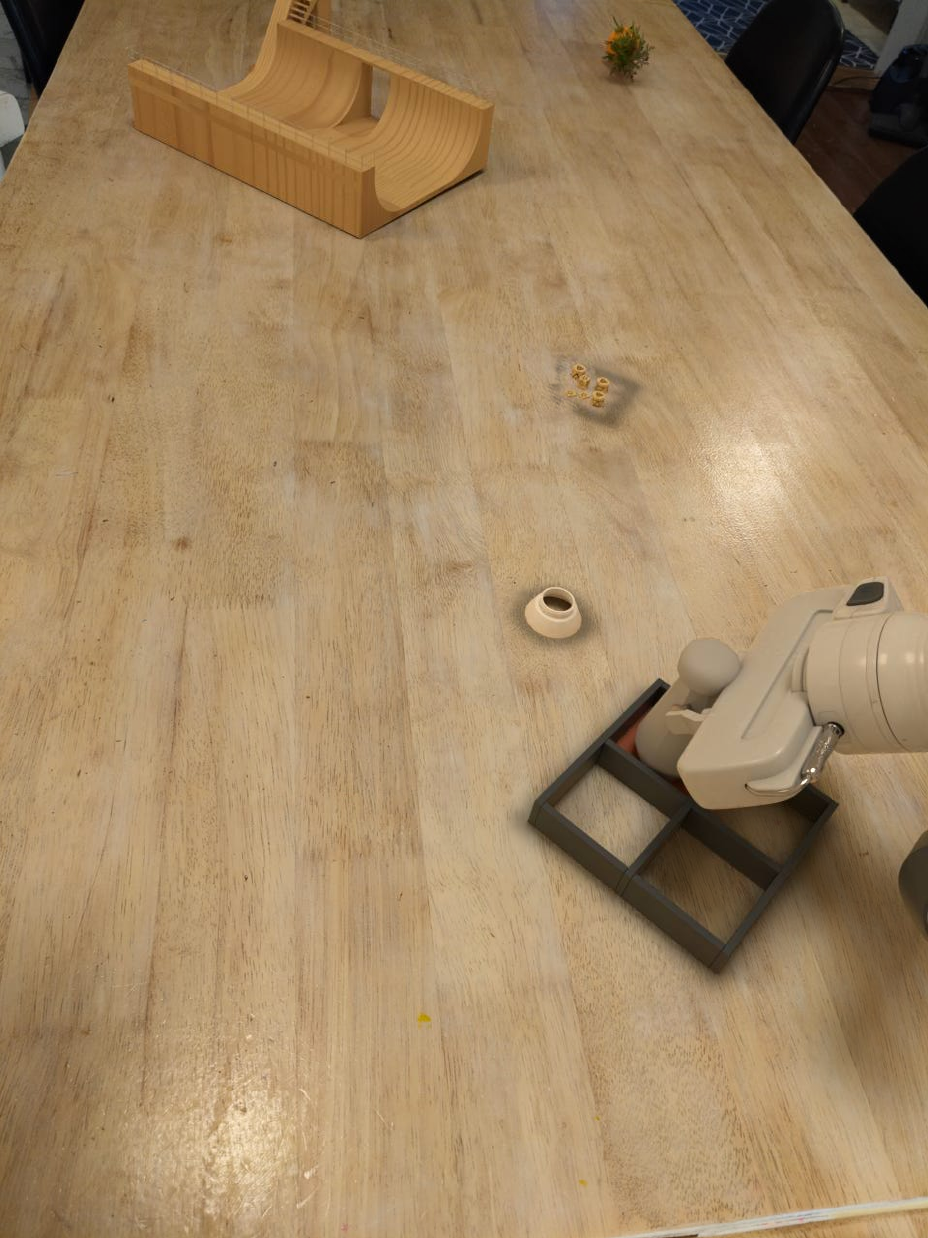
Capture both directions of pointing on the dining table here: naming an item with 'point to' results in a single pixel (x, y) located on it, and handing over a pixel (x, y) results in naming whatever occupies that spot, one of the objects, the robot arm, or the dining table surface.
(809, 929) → the dining table surface
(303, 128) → the skate ramp
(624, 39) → the christmas decoration
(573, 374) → the golden ring cluster
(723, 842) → the grid
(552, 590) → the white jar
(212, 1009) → the dining table surface
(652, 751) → the beige game pawn
